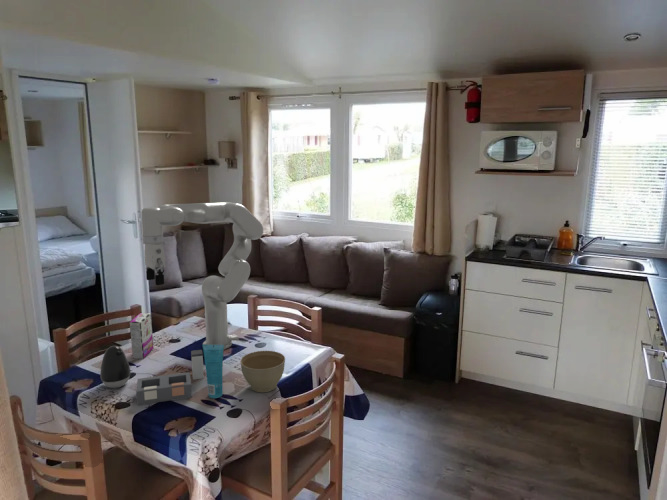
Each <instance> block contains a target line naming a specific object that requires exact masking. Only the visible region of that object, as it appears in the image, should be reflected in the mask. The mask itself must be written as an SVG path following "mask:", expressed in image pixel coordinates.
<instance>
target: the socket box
mask: <svg viewBox="0 0 667 500" xmlns="http://www.w3.org/2000/svg"><path fill="white" fill-rule="evenodd" d="M136 383H137V384H136V388H135V389H136V391H135V392H136V404H137V406H139V405H140V406H141V405H147V404H154V403H160V402H161V403H162V402H168V401H169V402H170V401H174V400H183V399H190V398H193V393H192V391H193V390H192V380H191V371H187V372H180V373H172V374H164V375H157V376H156V375H155V376H148V377H139V378H137V382H136Z"/></svg>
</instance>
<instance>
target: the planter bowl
mask: <svg viewBox="0 0 667 500" xmlns="http://www.w3.org/2000/svg"><path fill="white" fill-rule="evenodd" d="M285 364H286V356H285V355H284V354H282V353H281V352H278V351H275V350H257V351H252V352H249V353H247V354H245V355H244V356H242V357H241V358H240V366H241V373H242V375H243V378H244V379H245V381H246V383H247V384H248V385H249V386H250V389H251V390H252V391H254V392H256V393H267V392H271V391H273V390H275V389H276V388H277V386H278V383H279V382H280V380H281V379H282V377H283V374H284V372H285V371H284V370H285Z"/></svg>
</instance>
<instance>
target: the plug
mask: <svg viewBox="0 0 667 500" xmlns="http://www.w3.org/2000/svg"><path fill="white" fill-rule="evenodd" d="M190 352H191V354H190V355H191V357H190V358H191V372H192V374H191V375H192V380H201V379H204V378H205V377H204V374H205V373H204V358H203V357H204V352H203V349H197V350H191V351H190Z"/></svg>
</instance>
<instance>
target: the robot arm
mask: <svg viewBox="0 0 667 500" xmlns="http://www.w3.org/2000/svg"><path fill="white" fill-rule="evenodd" d="M183 222H184V223H194V224H201V225H202V224H213V223H214V224H215V223H231V224H232V233H233V243H232V246H231V247H230V249H229V250H228V251H227V253H226V254H225V255H224V257H223V258H222V260H221V261H220V262H219V265H218V267H217V269H218V272H219V274H221V275H222V276H223V277H221V276H218V275H209V276H207V277H205V279H204V280H203V282H202V285H201V292H202V293H201V294H202V297H203V303H204V318H205V319H204V322H205V323H204V324H205V340H204V341H203V342H202V345H203V344H208V345H224V350H226V349H228V348H230V347H232V345H233V341H239V340H240V337H239V335H236V334H229V328H228V325H229V324H228V303H230V302H232V300H234V299H235V298H236V297H237V295H238V294H239V292H240V291H241V289H242V288H243V287H244V285H245V284H246V283H247V281H248V279H249V277H250V275H251V266H250V263H249V262H248V261H247V260H248V257H249V255H250V254H251V251H252V241H255V240H259V239H261V237H262V236H263V234H264V226H263V224H262V223H261V221H260V220H259V219H258V218H257V216H254V214H252V213H251V212H250V210H249V209H247V207H246V206H244V205H242V204H241V203H237V202H230V201H223V202H220V201H219V202H199V203H197V202H196V203H172V204H162V205H159V206H157V207H153V206H151V207H149V206H148V207H144V208H142V210H141V228H142V230H141V231H142V244H143V245H144V264H145V275H146V277H145V278H146V281H151V280H154V282H155V286H162V285H165V268H166V256H165V254H166V253H165V247H164V226H172V227H175V226H179V225H181V224H182V223H183Z"/></svg>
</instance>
